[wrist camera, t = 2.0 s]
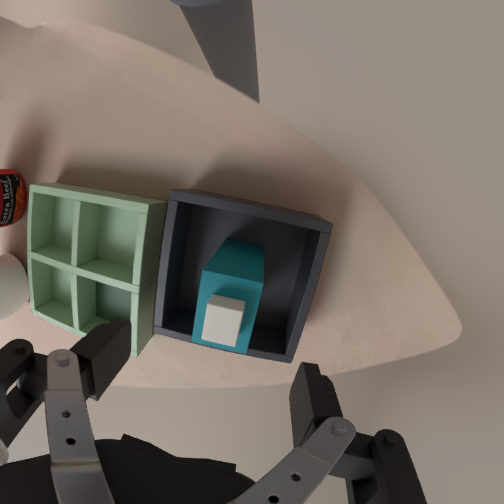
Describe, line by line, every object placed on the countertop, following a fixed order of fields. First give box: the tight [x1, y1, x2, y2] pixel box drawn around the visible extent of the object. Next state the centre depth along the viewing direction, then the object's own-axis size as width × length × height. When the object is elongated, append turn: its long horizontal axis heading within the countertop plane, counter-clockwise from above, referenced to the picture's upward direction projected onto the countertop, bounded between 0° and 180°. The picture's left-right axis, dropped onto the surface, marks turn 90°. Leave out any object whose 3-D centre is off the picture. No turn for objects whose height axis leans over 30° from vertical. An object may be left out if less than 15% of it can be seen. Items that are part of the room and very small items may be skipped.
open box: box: [154, 189, 333, 363], centre depth 25 cm, size 13×13×6 cm
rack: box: [27, 183, 167, 358], centre depth 26 cm, size 15×15×5 cm
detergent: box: [192, 238, 264, 354], centre depth 21 cm, size 5×4×12 cm
